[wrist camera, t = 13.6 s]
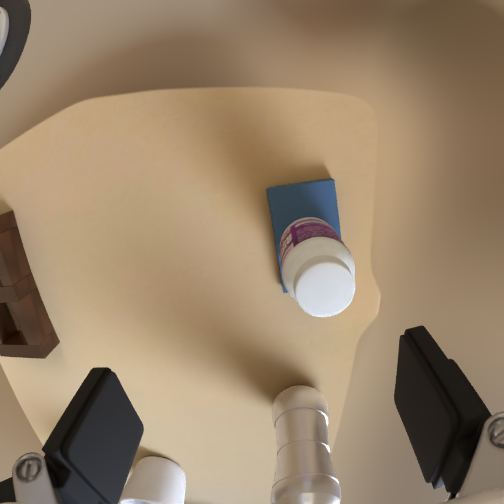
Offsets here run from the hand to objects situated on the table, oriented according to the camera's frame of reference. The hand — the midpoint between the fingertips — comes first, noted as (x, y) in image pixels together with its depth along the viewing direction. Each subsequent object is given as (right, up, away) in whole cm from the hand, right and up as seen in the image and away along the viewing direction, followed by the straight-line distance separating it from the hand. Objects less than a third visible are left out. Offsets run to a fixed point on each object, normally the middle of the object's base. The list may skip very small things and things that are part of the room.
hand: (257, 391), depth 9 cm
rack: (-32, 0, +24) cm, 40 cm away
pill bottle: (+5, +5, +20) cm, 21 cm away
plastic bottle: (+6, -13, +27) cm, 31 cm away
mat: (+5, +6, +21) cm, 22 cm away
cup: (-16, -32, +35) cm, 50 cm away
